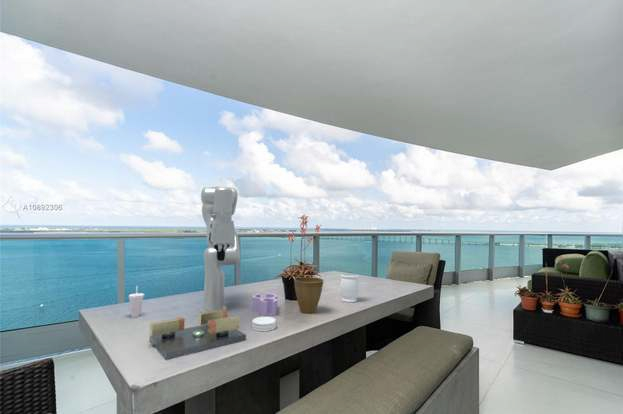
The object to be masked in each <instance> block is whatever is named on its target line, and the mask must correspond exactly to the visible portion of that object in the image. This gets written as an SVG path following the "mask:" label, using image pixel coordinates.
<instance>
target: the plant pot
mask: <svg viewBox="0 0 623 414" xmlns="http://www.w3.org/2000/svg"><path fill="white" fill-rule="evenodd" d="M293 282H294V289H295V296H296V300H297V304H298V307H299V310H300V312H301V313H303V314H313V313H315V312H316V311H317V308H318V306H319V302H320V298H321V296H322V291H323V286H324V279H323V278H320V277H312V276H299V277H298V276H297V277H295V278H294V279H293Z"/></svg>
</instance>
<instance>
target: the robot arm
mask: <svg viewBox="0 0 623 414" xmlns="http://www.w3.org/2000/svg"><path fill="white" fill-rule="evenodd" d="M238 196H239V195H238V191H237V189H236V188H235V187H232V186H231V187H230V186H229V187H228V186H211V187H210V186H209V187H208V186H207V187H203V188H202V189H201V193H200V201H201V203H202V205H201V215H202V219H203V221H204V223H205V225H206V226H205V227H206V244H207V246H208V247H206V248H205V249H204V252H203V261H204V262H203V263H204V287H203V288H204V289H203V306H202V307H200V309H199V311H200V312H199V313H201V312H207V311H213V310H219V309H226V310H228V308H227V306H226V305H225V303H224V302H225V279H226V276H225V272H224V271H223V269H222V268H221V267H222V266H235V265H238V264H239V263H240V260H241V252H240V251H241V250H240V241H239V235H238V233H237V231H235V230H236V229H235V223H234V220H232V217H233V215H235V213H236V209H237V208H236V207H237V203H238V199H239V198H238Z"/></svg>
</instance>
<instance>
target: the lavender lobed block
mask: <svg viewBox="0 0 623 414" xmlns="http://www.w3.org/2000/svg"><path fill="white" fill-rule="evenodd" d="M251 308H252V310H251V311H253V312H255V313H258V314H259V316H260V317H268V313H269V314H270V313H271V317H276V316H277V315H278V295H277V294H275V293H271V292H266V294H265V297H261V293H257V292H256V293H254V294H253V295H252V307H251Z"/></svg>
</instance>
